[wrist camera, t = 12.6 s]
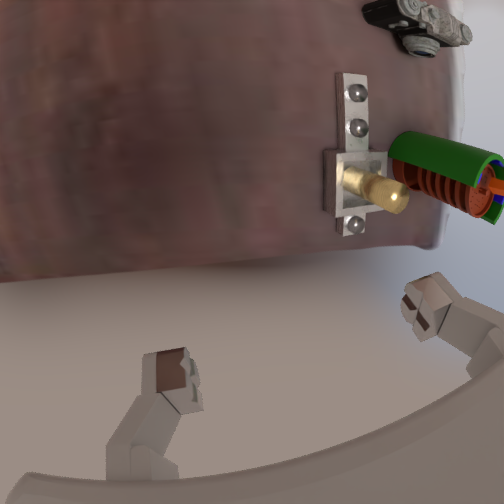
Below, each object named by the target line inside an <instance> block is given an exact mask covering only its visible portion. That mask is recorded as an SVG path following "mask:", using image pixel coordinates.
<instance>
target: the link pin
mask: <svg viewBox="0 0 504 504" xmlns="http://www.w3.org/2000/svg"><path fill="white" fill-rule="evenodd" d="M343 188H344V189H345V190H346V191H348V192H350V193H352V194H354V195H356V196H359V197H361V198H363V199H365V200H367V201H369V202H371V203H373V204H375V205H377V206H379V207H381V208H383V209H385V210H387V211H389V212H391V213H394V214H397V213H400V212H401V211H403V210H404V208H405V207H406V205H407V203H408V200H409V191H408V188H407V186H406V185H405V184H403V183H400V182H397V181H395V180H392V179H389V178H386V177H384V176H381V175H378V174H375V173H372V172H370V171H367V170H364V169H361V168H358V167H354V166H352V167H349V168H347V169H346V170H345V172H344V177H343Z"/></svg>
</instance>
